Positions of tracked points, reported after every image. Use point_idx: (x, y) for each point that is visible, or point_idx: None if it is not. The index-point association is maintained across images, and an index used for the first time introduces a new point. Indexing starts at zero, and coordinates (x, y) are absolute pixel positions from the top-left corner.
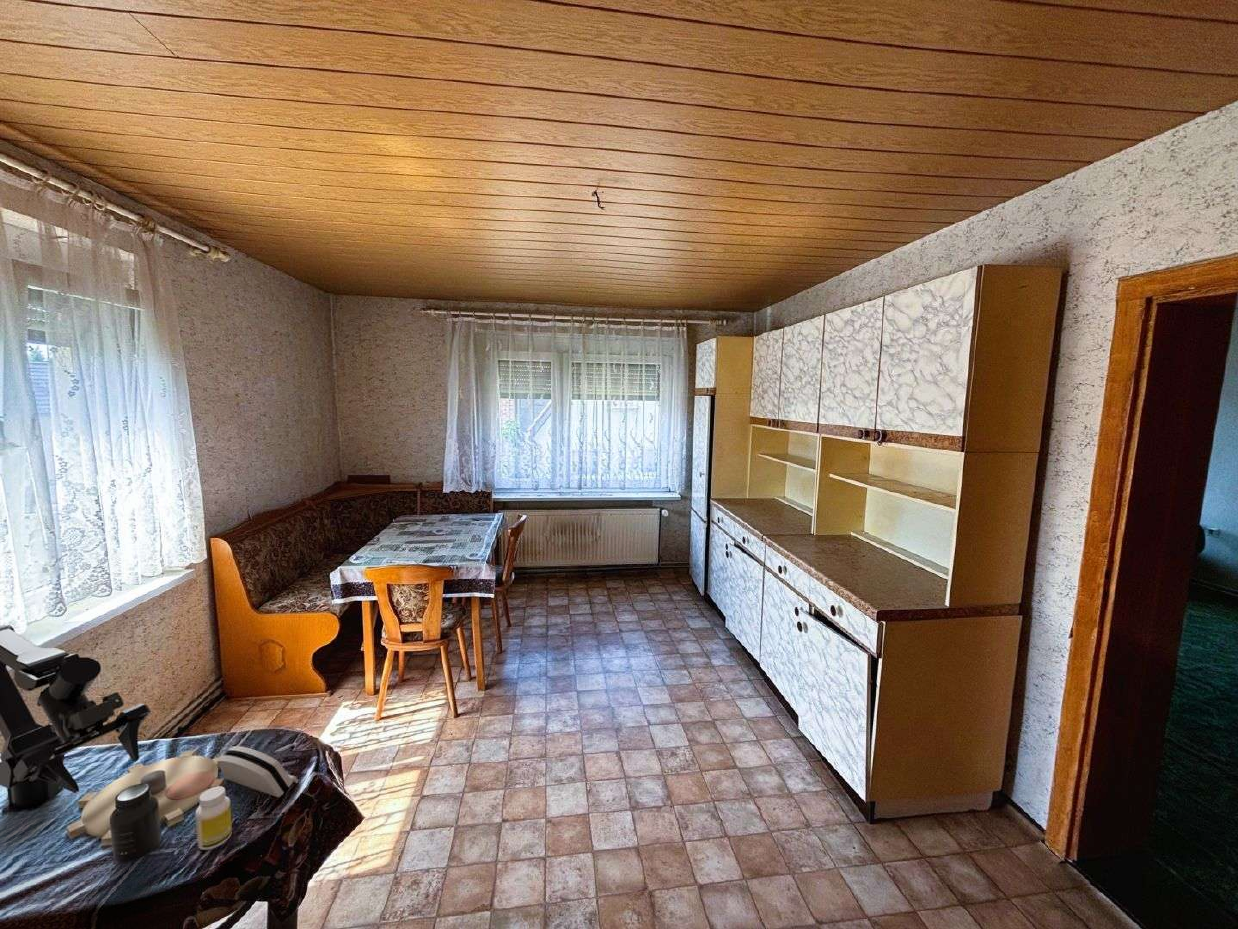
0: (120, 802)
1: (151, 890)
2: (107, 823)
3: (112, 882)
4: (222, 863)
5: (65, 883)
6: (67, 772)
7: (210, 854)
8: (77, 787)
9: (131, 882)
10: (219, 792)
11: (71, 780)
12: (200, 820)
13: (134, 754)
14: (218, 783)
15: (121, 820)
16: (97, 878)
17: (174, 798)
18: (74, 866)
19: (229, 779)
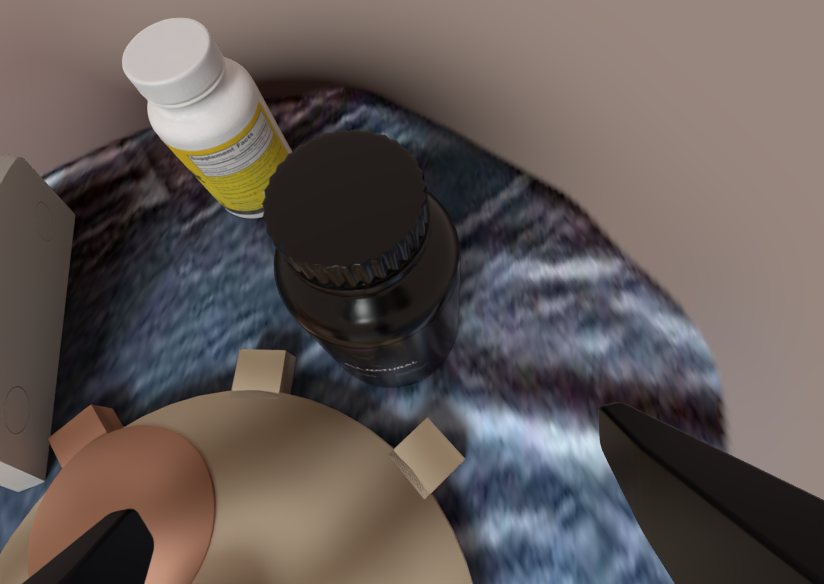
0: (414, 161)
1: (429, 134)
2: (421, 561)
3: (485, 238)
4: (298, 96)
5: (582, 351)
6: (816, 558)
7: (296, 143)
8: (618, 409)
9: (452, 198)
10: (151, 36)
11: (700, 465)
12: (257, 89)
13: (91, 548)
14: (78, 423)
15: (430, 194)
16: (509, 291)
17: (205, 474)
18: (551, 422)
19: (44, 450)
